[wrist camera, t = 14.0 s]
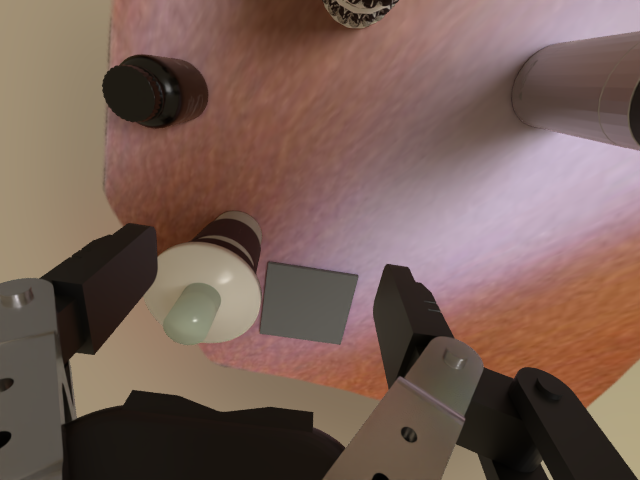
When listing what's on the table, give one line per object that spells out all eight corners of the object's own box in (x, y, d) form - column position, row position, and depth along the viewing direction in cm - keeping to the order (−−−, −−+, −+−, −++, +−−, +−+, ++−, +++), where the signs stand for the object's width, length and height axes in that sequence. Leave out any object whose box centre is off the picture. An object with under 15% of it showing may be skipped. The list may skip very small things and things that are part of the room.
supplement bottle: (189, 48, 38) (137, 36, 28) (220, 106, 41) (183, 115, 30) (141, 74, 40) (73, 72, 29) (173, 129, 42) (122, 146, 32)
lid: (267, 252, 33) (257, 283, 28) (256, 342, 38) (246, 382, 33) (144, 233, 32) (110, 262, 27) (150, 327, 37) (123, 367, 32)
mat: (357, 274, 52) (358, 277, 51) (340, 342, 58) (340, 344, 57) (268, 261, 51) (268, 263, 50) (260, 331, 57) (259, 333, 56)
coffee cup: (273, 262, 51) (255, 328, 37) (208, 261, 51) (167, 327, 37) (269, 201, 46) (247, 251, 33) (199, 200, 47) (148, 250, 33)
